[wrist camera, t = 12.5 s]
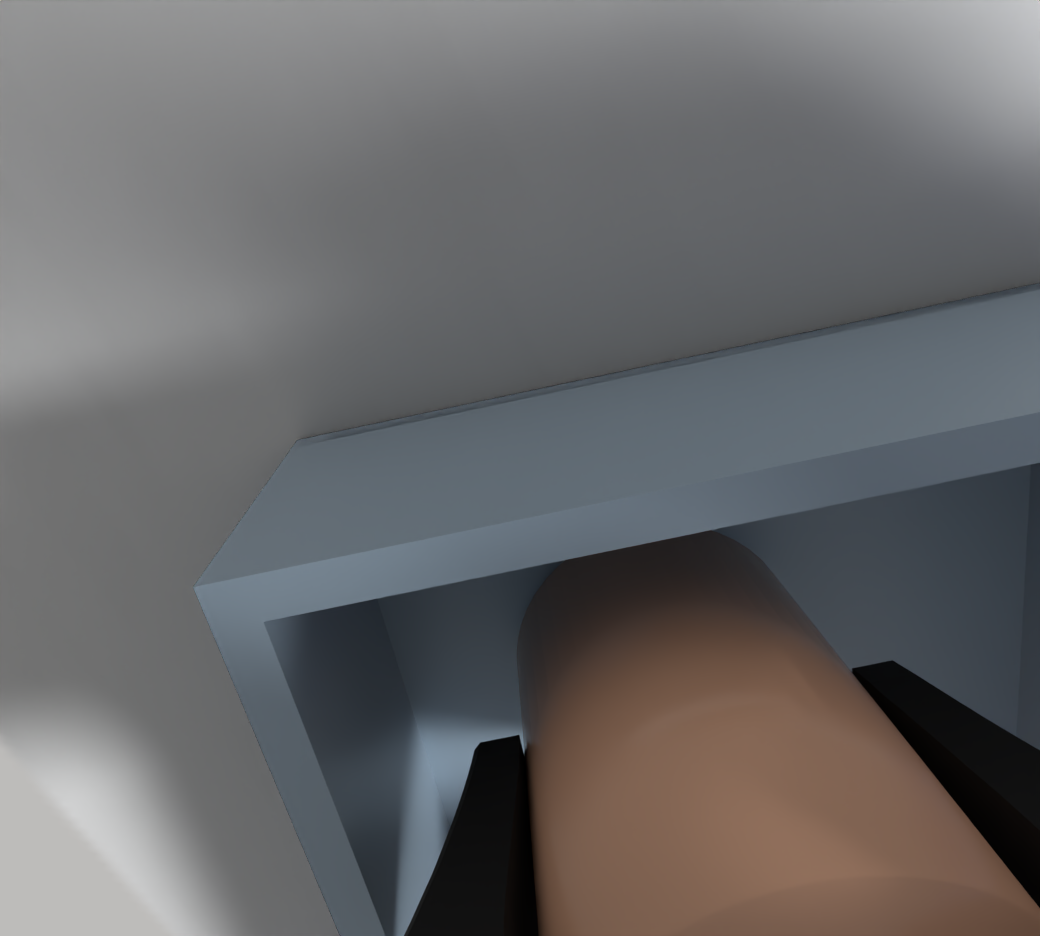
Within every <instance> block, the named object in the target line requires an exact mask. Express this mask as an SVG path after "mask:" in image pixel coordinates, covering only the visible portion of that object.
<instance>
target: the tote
mask: <svg viewBox="0 0 1040 936" xmlns="http://www.w3.org/2000/svg"><path fill="white" fill-rule="evenodd" d="M709 530H711V531H715V532H718V533H720V534H722V535H725V536H727V537H729V538H731V539H734V540H735V541H737V542H739V543H740V544H742V545H744V546H745V547H747V548H748V549H750V550H751V551H752V552H753V553H754V554H756V555H757V556H758V557H759V558H760V559H761V560H762V561H763V562H764V563H765V564H766V565H767V566H768V567H769V569H770V570H771V571H772V572H773V573H774V575H775V576H776V577H777V578H778V580H779V581H780V582H781V583H782V585H783V586H784V587H785V588H786V590H787V591H788V592H789V593H790V595H791V596H792V597H793V598H794V600H795V601H796V602H797V603H798V605H799V606H800V607H801V608H802V610H803V611H804V612H805V614H806V615H807V616H808V617H809V619H810V620H811V621H812V622H813V624H814V625H815V626H816V627H817V629H818V630H819V631H820V632H821V634H822V635H823V636H824V637H825V639H826V640H827V641H828V642H829V644H830V645H831V646H832V647H833V649H834V650H835V651H836V652H837V654H838V655H839V656H840V658H841V659H842V660H843V661H844V663H845V664H846V665H847V666H848V668H849V669H850V670H851V671H852V668H856V667H861V666H866V665H871V664H876V663H881V662H886V661H891V660H893V661H895V662H896V663H898V664H900V665H901V666H903V667H905V668H906V669H908V670H909V671H911V672H913V673H914V674H916V675H917V676H919V677H921V678H922V679H924V680H925V681H927V682H929V683H930V684H932V685H933V686H935V687H936V688H938V689H940V690H941V691H943V692H944V693H946V694H948V695H949V696H951V697H952V698H954V699H956V700H957V701H959V702H960V703H962V704H964V705H965V706H967V707H968V708H970V709H972V710H973V711H975V712H977V713H978V714H980V715H981V716H983V717H985V718H986V719H988V720H990V721H991V722H993V723H995V724H996V725H998V726H1000V727H1001V728H1003V729H1005V730H1006V731H1008V732H1010V733H1011V734H1013V735H1015V736H1016V737H1018V738H1020V739H1021V740H1023V741H1025V742H1026V743H1028V744H1030V745H1032V746H1033V747H1035V748H1037V749H1039V750H1040V283H1037V284H1033V285H1028V286H1023V287H1018V288H1014V289H1009V290H1004V291H1000V292H995V293H990V294H985V295H981V296H976V297H971V298H966V299H962V300H957V301H952V302H948V303H943V304H938V305H933V306H929V307H924V308H919V309H915V310H910V311H905V312H900V313H896V314H891V315H886V316H881V317H877V318H872V319H867V320H863V321H858V322H853V323H848V324H844V325H839V326H834V327H829V328H825V329H820V330H815V331H811V332H806V333H801V334H796V335H792V336H787V337H782V338H777V339H773V340H768V341H763V342H759V343H754V344H749V345H744V346H740V347H735V348H730V349H726V350H721V351H716V352H711V353H707V354H702V355H697V356H692V357H688V358H683V359H678V360H674V361H669V362H664V363H659V364H655V365H650V366H645V367H640V368H636V369H631V370H626V371H622V372H617V373H612V374H607V375H603V376H598V377H593V378H588V379H584V380H579V381H574V382H570V383H565V384H560V385H555V386H551V387H546V388H541V389H537V390H532V391H527V392H522V393H518V394H513V395H508V396H503V397H499V398H494V399H489V400H485V401H480V402H475V403H470V404H466V405H461V406H456V407H451V408H447V409H442V410H437V411H433V412H428V413H423V414H418V415H414V416H409V417H404V418H400V419H395V420H390V421H385V422H381V423H376V424H371V425H366V426H362V427H357V428H352V429H348V430H343V431H338V432H333V433H329V434H324V435H319V436H314V437H310V438H305V439H300V440H297V441H296V443H295V444H294V445H293V447H292V448H291V450H290V451H289V453H288V454H287V455H286V457H285V458H284V460H283V461H282V462H281V464H280V465H279V467H278V468H277V469H276V471H275V472H274V474H273V475H272V477H271V478H270V479H269V481H268V482H267V484H266V485H265V486H264V488H263V489H262V491H261V492H260V493H259V495H258V496H257V498H256V499H255V500H254V502H253V503H252V505H251V506H250V508H249V509H248V510H247V512H246V513H245V515H244V516H243V517H242V519H241V520H240V522H239V523H238V524H237V526H236V527H235V529H234V530H233V532H232V533H231V534H230V536H229V537H228V539H227V540H226V541H225V543H224V544H223V546H222V547H221V548H220V550H219V551H218V553H217V554H216V555H215V557H214V558H213V560H212V561H211V563H210V564H209V565H208V567H207V568H206V570H205V571H204V572H203V574H202V575H201V577H200V578H199V579H198V581H197V582H196V584H195V585H194V587H193V588H194V591H195V593H196V596H197V598H198V600H199V603H200V605H201V607H202V610H203V612H204V615H205V617H206V619H207V622H208V624H209V626H210V629H211V631H212V634H213V636H214V638H215V641H216V643H217V645H218V648H219V650H220V653H221V655H222V657H223V660H224V662H225V664H226V667H227V669H228V672H229V674H230V676H231V679H232V681H233V683H234V686H235V688H236V691H237V693H238V695H239V698H240V700H241V702H242V705H243V707H244V709H245V712H246V714H247V717H248V719H249V721H250V724H251V726H252V728H253V731H254V733H255V736H256V738H257V740H258V743H259V745H260V747H261V750H262V752H263V755H264V757H265V759H266V762H267V764H268V766H269V769H270V771H271V774H272V776H273V778H274V781H275V783H276V785H277V788H278V790H279V793H280V795H281V797H282V800H283V802H284V804H285V807H286V809H287V812H288V814H289V816H290V819H291V821H292V823H293V826H294V828H295V830H296V833H297V835H298V838H299V840H300V842H301V845H302V847H303V849H304V852H305V854H306V857H307V859H308V861H309V864H310V866H311V868H312V871H313V873H314V876H315V878H316V880H317V883H318V885H319V887H320V890H321V892H322V895H323V897H324V899H325V902H326V904H327V906H328V909H329V911H330V914H331V916H332V918H333V921H334V923H335V925H336V928H337V930H338V933H339V935H340V936H404V934H405V932H406V930H407V928H408V926H409V924H410V922H411V920H412V917H413V915H414V913H415V911H416V908H417V906H418V904H419V902H420V900H421V897H422V895H423V893H424V891H425V888H426V886H427V884H428V882H429V880H430V877H431V875H432V873H433V870H434V868H435V866H436V863H437V861H438V858H439V855H440V853H441V850H442V848H443V845H444V842H445V840H446V837H447V835H448V832H449V829H450V827H451V824H452V822H453V819H454V816H455V813H456V810H457V807H458V804H459V801H460V799H461V796H462V792H463V789H464V786H465V783H466V780H467V776H468V773H469V769H470V766H471V762H472V758H473V754H474V750H475V749H476V747H477V746H478V745H479V743H480V742H485V741H490V740H495V739H500V738H505V737H510V736H515V735H519V736H520V740H521V744H522V748H523V752H524V743H523V731H522V718H521V706H520V693H519V681H518V668H517V642H518V636H519V632H520V627H521V623H522V621H523V618H524V615H525V613H526V610H527V608H528V606H529V604H530V602H531V600H532V599H533V597H534V595H535V593H536V592H537V590H538V589H539V588H540V586H541V585H542V584H543V582H544V581H545V579H546V578H547V577H548V576H549V575H550V574H551V573H552V572H553V571H554V570H555V569H556V568H557V567H558V566H559V565H560V564H561V563H563V562H564V561H565V560H568V559H573V558H578V557H582V556H587V555H592V554H597V553H602V552H607V551H612V550H617V549H621V548H626V547H631V546H636V545H641V544H646V543H651V542H656V541H660V540H665V539H670V538H675V537H680V536H685V535H690V534H695V533H699V532H704V531H709Z"/></svg>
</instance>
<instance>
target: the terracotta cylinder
mask: <svg viewBox="0 0 1040 936" xmlns="http://www.w3.org/2000/svg"><path fill="white" fill-rule="evenodd" d="M517 668H518V681H519V693H520V706H521V718H522V731H523V743H524V756H525V769H526V781H527V794H528V806H529V819H530V832H531V844H532V857H533V869H534V882H535V895H536V907H537V920H538V932H539V936H1040V908H1039V906H1038V905H1037V904H1036V903H1035V901H1034V900H1033V899H1032V898H1031V896H1030V895H1029V894H1028V893H1027V891H1026V890H1025V889H1024V888H1023V886H1022V885H1021V884H1020V883H1019V881H1018V880H1017V879H1016V878H1015V876H1014V875H1013V874H1012V873H1011V871H1010V870H1009V869H1008V867H1007V866H1006V865H1005V864H1004V862H1003V861H1002V860H1001V859H1000V857H999V856H998V855H997V854H996V852H995V851H994V850H993V849H992V847H991V846H990V845H989V844H988V842H987V841H986V840H985V839H984V837H983V836H982V835H981V834H980V832H979V831H978V830H977V829H976V827H975V826H974V825H973V823H972V822H971V821H970V820H969V818H968V817H967V816H966V815H965V813H964V812H963V811H962V810H961V808H960V807H959V806H958V805H957V803H956V802H955V801H954V800H953V798H952V797H951V796H950V795H949V793H948V792H947V791H946V790H945V788H944V787H943V786H942V785H941V783H940V782H939V781H938V779H937V778H936V777H935V776H934V774H933V773H932V772H931V771H930V769H929V768H928V767H927V766H926V764H925V763H924V762H923V761H922V759H921V758H920V757H919V756H918V754H917V753H916V752H915V751H914V749H913V748H912V747H911V746H910V744H909V743H908V742H907V741H906V739H905V738H904V737H903V735H902V734H901V733H900V732H899V730H898V729H897V728H896V727H895V725H894V724H893V723H892V722H891V720H890V719H889V718H888V717H887V715H886V714H885V713H884V712H883V710H882V709H881V708H880V707H879V705H878V704H877V703H876V702H875V700H874V699H873V698H872V697H871V695H870V694H869V693H868V691H867V690H866V689H865V688H864V686H863V685H862V684H861V683H860V681H859V680H858V679H857V678H856V676H855V675H854V674H853V673H852V671H851V670H850V669H849V668H848V666H847V665H846V664H845V663H844V661H843V660H842V659H841V658H840V656H839V655H838V654H837V652H836V651H835V650H834V649H833V647H832V646H831V645H830V644H829V642H828V641H827V640H826V639H825V637H824V636H823V635H822V634H821V632H820V631H819V630H818V629H817V627H816V626H815V625H814V624H813V622H812V621H811V620H810V619H809V617H808V616H807V615H806V614H805V612H804V611H803V610H802V608H801V607H800V606H799V605H798V603H797V602H796V601H795V600H794V598H793V597H792V596H791V595H790V593H789V592H788V591H787V590H786V588H785V587H784V586H783V585H782V583H781V582H780V581H779V580H778V578H777V577H776V576H775V575H774V573H773V572H772V571H771V570H770V569H769V567H768V566H767V565H766V564H765V563H764V562H763V561H762V560H761V559H760V558H759V557H758V556H757V555H756V554H754V553H753V552H752V551H751V550H750V549H748V548H747V547H745V546H744V545H742V544H740V543H739V542H737V541H735V540H734V539H731V538H729V537H727V536H725V535H722V534H720V533H718V532H715V531H711V530H709V531H704V532H699V533H695V534H690V535H685V536H680V537H675V538H670V539H665V540H660V541H656V542H651V543H646V544H641V545H636V546H631V547H626V548H621V549H617V550H612V551H607V552H602V553H597V554H592V555H587V556H582V557H578V558H573V559H568V560H565V561H564V562H563V563H561V564H560V565H559V566H558V567H557V568H556V569H555V570H554V571H553V572H552V573H551V574H550V575H549V576H548V577H547V578H546V579H545V581H544V582H543V584H542V585H541V586H540V588H539V589H538V590H537V592H536V593H535V595H534V597H533V599H532V600H531V602H530V604H529V606H528V608H527V610H526V613H525V615H524V618H523V621H522V623H521V627H520V632H519V636H518V642H517Z"/></svg>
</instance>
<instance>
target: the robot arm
mask: <svg viewBox="0 0 1040 936" xmlns="http://www.w3.org/2000/svg"><path fill="white" fill-rule="evenodd" d="M852 673H853V674H854V675H855V676H856V678H857V679H858V680H859V681H860V683H861V684H862V685H863V686H864V688H865V689H866V690H867V691H868V693H869V694H870V695H871V697H872V698H873V699H874V700H875V702H876V703H877V704H878V705H879V707H880V708H881V709H882V710H883V712H884V713H885V714H886V715H887V717H888V718H889V719H890V720H891V722H892V723H893V724H894V725H895V727H896V728H897V729H898V730H899V732H900V733H901V734H902V735H903V737H904V738H905V739H906V741H907V742H908V743H909V744H910V746H911V747H912V748H913V749H914V751H915V752H916V753H917V754H918V756H919V757H920V758H921V759H922V761H923V762H924V763H925V764H926V766H927V767H928V768H929V769H930V771H931V772H932V773H933V774H934V776H935V777H936V778H937V779H938V781H939V782H940V783H941V785H942V786H943V787H944V788H945V790H946V791H947V792H948V793H949V795H950V796H951V797H952V798H953V800H954V801H955V802H956V803H957V805H958V806H959V807H960V808H961V810H962V811H963V812H964V813H965V815H966V816H967V817H968V818H969V820H970V821H971V822H972V823H973V825H974V826H975V827H976V829H977V830H978V831H979V832H980V834H981V835H982V836H983V837H984V839H985V840H986V841H987V842H988V844H989V845H990V846H991V847H992V849H993V850H994V851H995V852H996V854H997V855H998V856H999V857H1000V859H1001V860H1002V861H1003V862H1004V864H1005V865H1006V866H1007V867H1008V869H1009V870H1010V871H1011V873H1012V874H1013V875H1014V876H1015V878H1016V879H1017V880H1018V881H1019V883H1020V884H1021V885H1022V886H1023V888H1024V889H1025V890H1026V891H1027V893H1028V894H1029V895H1030V896H1031V898H1032V899H1033V900H1034V901H1035V903H1036V904H1037V905H1038V906H1039V908H1040V750H1039V749H1037V748H1035V747H1033V746H1032V745H1030V744H1028V743H1026V742H1025V741H1023V740H1021V739H1020V738H1018V737H1016V736H1015V735H1013V734H1011V733H1010V732H1008V731H1006V730H1005V729H1003V728H1001V727H1000V726H998V725H996V724H995V723H993V722H991V721H990V720H988V719H986V718H985V717H983V716H981V715H980V714H978V713H977V712H975V711H973V710H972V709H970V708H968V707H967V706H965V705H964V704H962V703H960V702H959V701H957V700H956V699H954V698H952V697H951V696H949V695H948V694H946V693H944V692H943V691H941V690H940V689H938V688H936V687H935V686H933V685H932V684H930V683H929V682H927V681H925V680H924V679H922V678H921V677H919V676H917V675H916V674H914V673H913V672H911V671H909V670H908V669H906V668H905V667H903V666H901V665H900V664H898V663H896V662H895V661H893V660H891V661H886V662H881V663H876V664H871V665H866V666H861V667H856V668H852ZM404 936H539V932H538V920H537V907H536V895H535V882H534V869H533V857H532V844H531V832H530V819H529V806H528V794H527V781H526V769H525V756H524V752H523V748H522V744H521V740H520V736H519V735H515V736H510V737H505V738H500V739H495V740H490V741H485V742H480V743H479V745H478V746H477V747H476V749H475V750H474V754H473V758H472V762H471V766H470V769H469V773H468V776H467V780H466V783H465V786H464V789H463V792H462V796H461V799H460V801H459V804H458V807H457V810H456V813H455V816H454V819H453V822H452V824H451V827H450V829H449V832H448V835H447V837H446V840H445V842H444V845H443V848H442V850H441V853H440V855H439V858H438V861H437V863H436V866H435V868H434V870H433V873H432V875H431V877H430V880H429V882H428V884H427V886H426V888H425V891H424V893H423V895H422V897H421V900H420V902H419V904H418V906H417V908H416V911H415V913H414V915H413V917H412V920H411V922H410V924H409V926H408V928H407V930H406V932H405V934H404Z"/></svg>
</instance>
